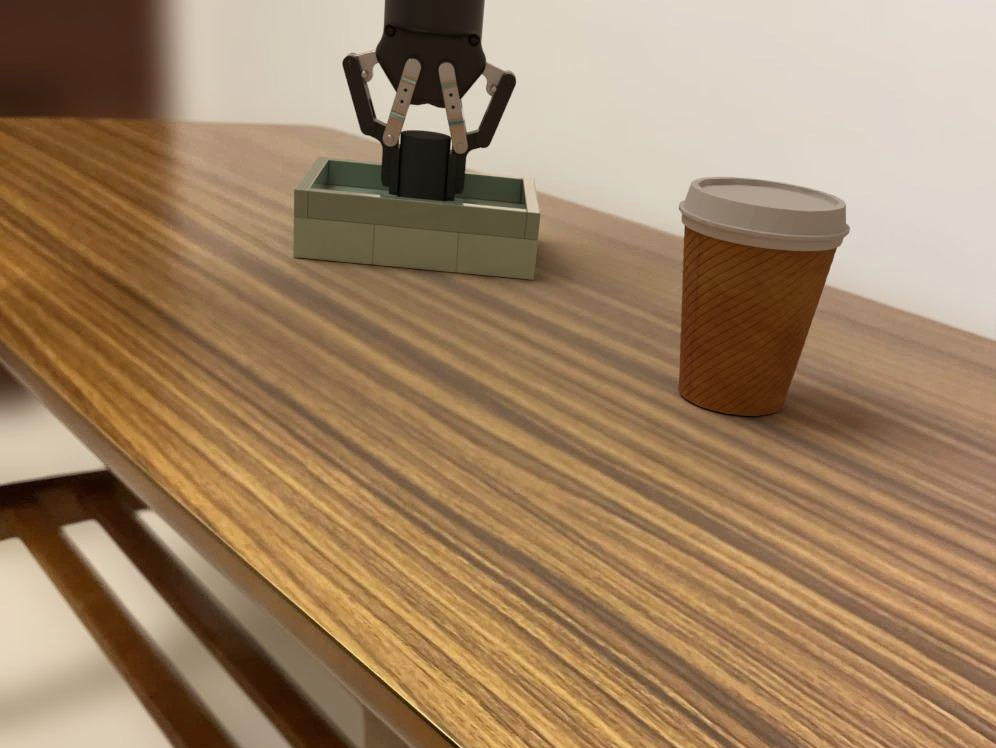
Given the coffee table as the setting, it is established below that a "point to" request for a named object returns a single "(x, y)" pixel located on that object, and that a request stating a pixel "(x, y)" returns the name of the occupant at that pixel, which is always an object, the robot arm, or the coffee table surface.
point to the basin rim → (417, 201)
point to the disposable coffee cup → (751, 287)
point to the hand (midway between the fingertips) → (422, 195)
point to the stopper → (423, 165)
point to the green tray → (415, 244)
